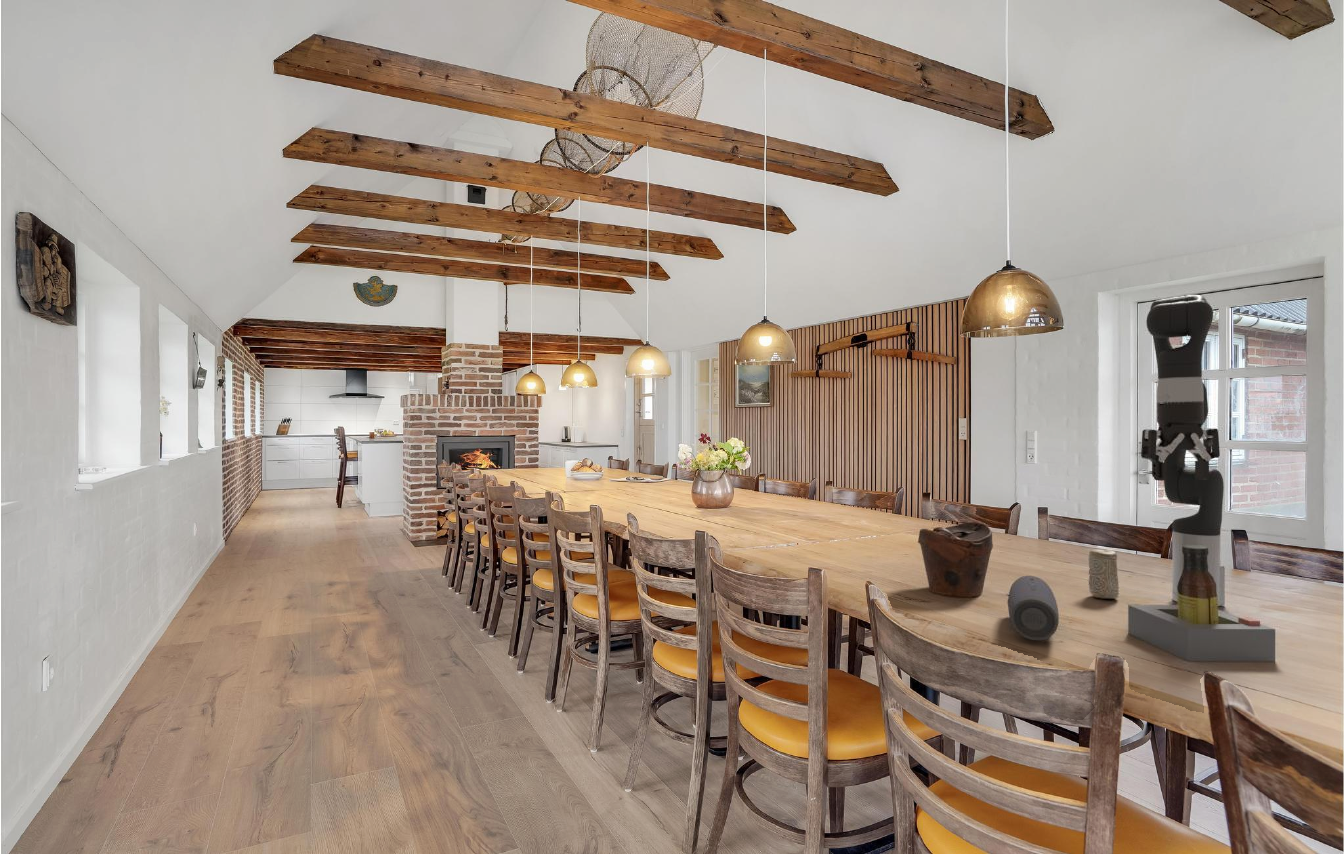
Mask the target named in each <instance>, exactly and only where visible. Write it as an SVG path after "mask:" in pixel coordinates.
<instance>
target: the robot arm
mask: <svg viewBox="0 0 1344 854" xmlns="http://www.w3.org/2000/svg"><path fill="white" fill-rule="evenodd" d="M1213 318H1214V310H1213V307H1212V306H1211V304H1210V303H1209V302H1208V301H1207V299H1206V298H1205V297H1204V296H1203V295H1200V294H1189V295H1188V294H1187V295H1182V296H1176V297H1168V298H1163V299H1157V300H1154V301H1152V303H1151V305H1150V310H1149V312H1148V314H1147V317H1146V328H1147V331H1148V332H1149V334H1150V335H1151V337H1152V340H1153V345H1154V351H1155V358H1156V366H1157V367H1156V368H1157V386H1156V422H1157V424H1158V429H1157V430H1156V429H1152V428H1151V429H1149V428H1148V429H1146V428H1145V429H1143V430H1142V431H1141V449H1140V450H1141V452H1140V456H1141V458H1142V459H1144V460H1149V461H1150V462H1151V475H1152V478H1154V479H1153V480H1154V481H1158V482H1159V481H1161V482H1162V481H1163V486H1164V487H1163V489H1164V493H1165V496H1166V498H1167V500H1168V501H1170V502H1171V503H1174V504H1179V505H1180V504H1182V505H1193V506H1199V508H1198V511H1197V512H1196V513H1195V514H1193V515H1189V516H1185V517H1180V518H1176V519H1174V520H1173V521H1172V568H1171V569H1172V581H1171V582H1172V583H1171V584H1172V589H1171V590H1172V591H1171V592H1172V595H1171V596H1172V601H1174V602H1177V603H1178V598H1177V585H1178V582H1179V579H1180V577H1181V575H1182V571H1183V564H1184V555H1183V553H1182V546H1183V545H1201V546H1206V547H1208V552H1209V553H1208V555H1207V563H1208V572H1209V573H1210V574H1211V575H1212V577H1213V579H1214V581H1215V583H1216V592H1217V597H1218V607H1220V606H1225V605H1226V601H1225V599H1226V591H1225V588H1226V580H1225V579H1226V578H1225V577H1226V568H1225V566H1224V565H1221V564H1222V563H1221V562H1222V561H1221V560H1222V559H1221V555H1222V553H1221V552H1222V551H1221V550H1222V549H1221V537H1222V536H1221V528H1222V519H1223V504H1224V502H1223V501H1224V487H1225V486H1224V478H1223V475H1222V473H1221V472H1220V471H1219V470H1218V469H1216V468H1210V461H1211V460H1213V459H1218V458H1220V455H1221V452H1220V451H1221V449H1220V439H1219V438H1220V437H1219V429H1218V428H1210V427H1209V428H1207V427H1205V428H1203V427H1202V426H1203V425H1204V423H1205V422H1206V420H1207V418H1208V415H1209V405H1208V404H1209V403H1208V401H1209V400H1208V390H1207V386H1206V385H1205V383H1204V382H1203V370H1202V369H1203V364H1202V363H1203V362H1202V361H1203V352H1204V351H1203V350H1204V346H1205V342H1206V339H1207V336H1208V333H1209V331H1210V329H1211V326H1212V323H1213ZM1180 337H1181V338H1183V337H1184V338H1185V337H1190V338H1189V340H1188V341H1187V343H1185V344H1184V345H1182V346H1178V347H1174V348H1173V346H1172V343H1171V341H1170V338H1180ZM1158 439H1159V442H1158V443H1157V441H1158ZM1201 439H1202V441H1201ZM1187 452H1188V453H1190V454H1191V455H1192V457H1194V459H1195V461H1194V467H1193V466H1192V467H1189V466H1186V454H1187Z"/></svg>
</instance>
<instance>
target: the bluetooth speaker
mask: <svg viewBox="0 0 1344 854" xmlns="http://www.w3.org/2000/svg"><path fill="white" fill-rule="evenodd" d="M1008 593H1009V594H1008V598H1007V607H1008V616H1009V620H1010V623H1011V624H1012V627H1013V628H1014V630H1015V631H1016V633H1018V635H1021V636H1022V637H1023V638H1024V639H1028V640H1031V641H1032V640H1033V641H1044V640H1047V639H1049V638H1051V637H1052V636H1053V635H1054V634H1056V632H1057V629H1058V627H1059V621H1060V620H1059V619H1060V617H1059V608H1058V603H1057V600H1056V596H1055V594H1054V592H1053V590H1052V588H1051V587H1050V585H1049V584H1048V583H1047V582H1045V580H1043V579H1041V578H1040V577H1038V576H1034V575H1024V576H1021V577H1019V578H1017V579H1015V581H1014V582H1013V583H1012V584H1011V586H1010V589H1009V592H1008Z"/></svg>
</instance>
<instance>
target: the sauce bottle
mask: <svg viewBox="0 0 1344 854" xmlns="http://www.w3.org/2000/svg"><path fill="white" fill-rule="evenodd" d="M1182 553H1183V555H1184V564H1183V571H1182V575H1181V577H1180V579H1179V582H1178V585H1177V598H1178V602H1177V605H1178V618H1180V619H1183V620H1185V621H1188V622H1190V623H1193V624H1219V619H1218V610H1219V606H1218V597H1217V592H1216V583H1215V581H1214V579H1213V577H1212V575H1211V574H1210V573H1209V572H1208V563H1207V555H1208V553H1209V552H1208V547H1206V546H1201V545H1183V546H1182Z"/></svg>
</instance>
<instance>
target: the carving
mask: <svg viewBox="0 0 1344 854" xmlns="http://www.w3.org/2000/svg"><path fill="white" fill-rule="evenodd" d="M1088 553H1089V554H1088V575H1089V577H1088V589H1089V593H1090V594H1091V596H1092V597H1094V598H1098V599H1111V600H1113V599H1118V598H1119V594H1120V591H1119V589H1120V586H1119V576H1118V572H1119V571H1118V566H1117V565H1118V562H1117V561H1118V554H1117V552H1116V551H1114V550H1111V549H1098V548H1097V549H1095V548H1094V549H1090V551H1089V552H1088Z"/></svg>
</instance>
